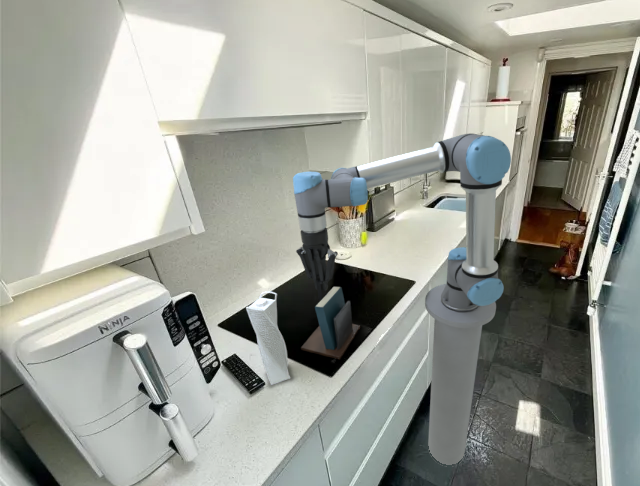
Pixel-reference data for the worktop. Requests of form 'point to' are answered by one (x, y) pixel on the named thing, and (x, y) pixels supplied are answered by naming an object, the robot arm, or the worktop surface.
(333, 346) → the book
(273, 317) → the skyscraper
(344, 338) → the book rest
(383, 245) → the worktop surface
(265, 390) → the worktop surface
